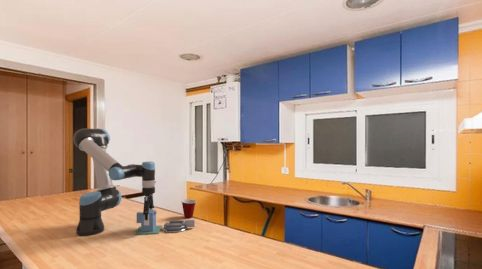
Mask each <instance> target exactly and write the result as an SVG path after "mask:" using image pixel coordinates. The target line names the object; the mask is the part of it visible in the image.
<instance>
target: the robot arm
mask: <svg viewBox="0 0 482 269" xmlns="http://www.w3.org/2000/svg"><path fill="white" fill-rule="evenodd" d="M72 138H73V143H74V145H75V146H76V148H78V149H79V150H80V151H82V152H85V154H87V155H89V156H90V157H91V158H92V162H93V167H94V172H95V176H96V182H97V187H98V188H97V189H96V190H95V191H88V192H86V193H83V194H81V195H80V197H79V201H78V204H79V206H78V207H79V221H78V224H77V226H76V230H75V234H76V235H77V236H81V237H83V236H84V237H86V236H87V237H89V236H94V235H97V234H100V233H103V232H104V231H105V225H104V222H103V219H102V212H104V211H108V210H110V209H114V208H116V207H118V206H119V205H120V203H121V201H122V192H121V191H120V190H119V189H117V187H116V185H114V184H113V181H121V180H124V179H131V178H136V177H137V178H141V187H142V188H141V192H142V195H145V196H144V197H143V200H144V202H143V203H144V204H143V211H142V212H143V215H144V225H149V210H154V209H155V205H154V196H153V195H154V194H155V193H156V186H155V185H156V182H157V181H156V177H155V176H156V165H155V162H154V161H142V163H141V164H134V163H131V164H127V165H122V164H120V163H119V162H118V161H117V160H116V159H115V158H113V157H112V156H111V155H110V154H109V153H107V149H108V145H109V144H110V140H111V137H110V134H109V133H108V131H106V129H102V128H80V129H78V130H76V131H75V133H74V134H73V137H72Z"/></svg>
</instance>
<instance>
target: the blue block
mask: <svg viewBox="0 0 482 269" xmlns="http://www.w3.org/2000/svg"><path fill="white" fill-rule="evenodd" d="M136 224H140V226H141V232H146V231H154V229H155V228H156V226H157V210H156V209H153V210H149V225H144V215H143V211H138V212H136Z"/></svg>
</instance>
